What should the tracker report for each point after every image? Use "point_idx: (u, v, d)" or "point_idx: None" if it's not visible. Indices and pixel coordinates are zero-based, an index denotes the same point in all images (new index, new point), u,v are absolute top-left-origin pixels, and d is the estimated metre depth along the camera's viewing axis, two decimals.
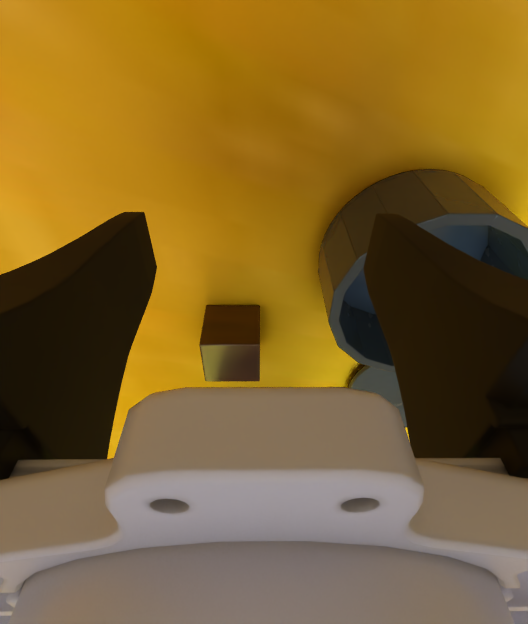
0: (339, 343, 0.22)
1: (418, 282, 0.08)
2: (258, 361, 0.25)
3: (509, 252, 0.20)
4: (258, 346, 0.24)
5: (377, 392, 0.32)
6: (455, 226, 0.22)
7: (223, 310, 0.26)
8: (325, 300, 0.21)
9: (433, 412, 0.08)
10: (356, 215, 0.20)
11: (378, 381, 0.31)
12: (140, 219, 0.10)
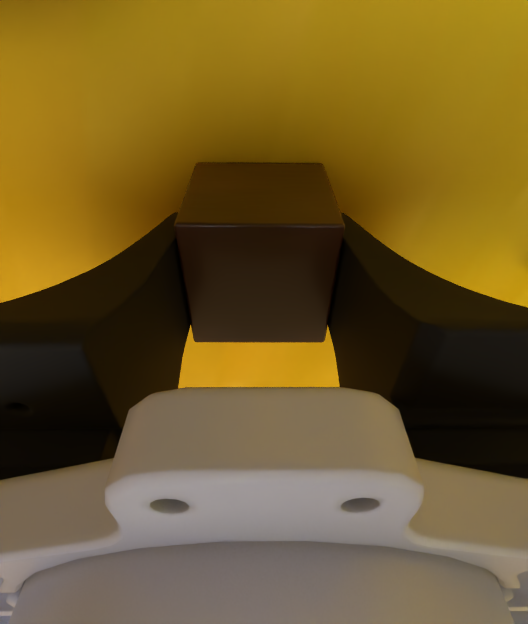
0: None
1: (350, 282, 0.08)
2: (247, 227, 0.08)
3: None
4: (181, 227, 0.08)
5: None
6: None
7: None
8: None
9: None
10: None
11: None
12: None
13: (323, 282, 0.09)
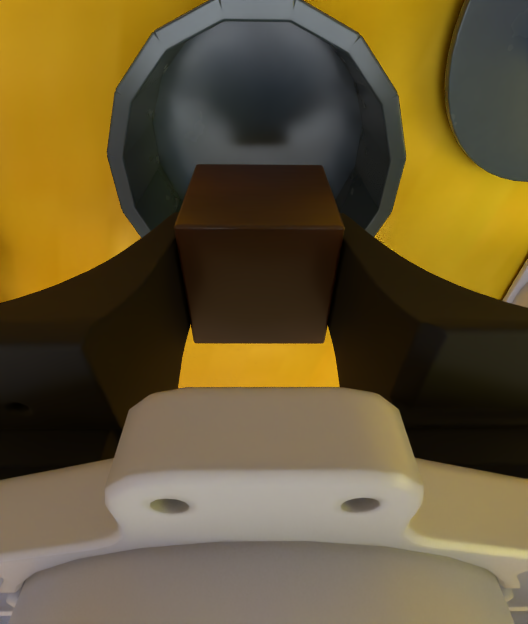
0: None
1: (350, 282, 0.08)
2: (247, 229, 0.08)
3: None
4: (181, 229, 0.08)
5: None
6: (207, 86, 0.16)
7: None
8: None
9: None
10: None
11: (519, 133, 0.17)
12: None
13: (323, 283, 0.09)
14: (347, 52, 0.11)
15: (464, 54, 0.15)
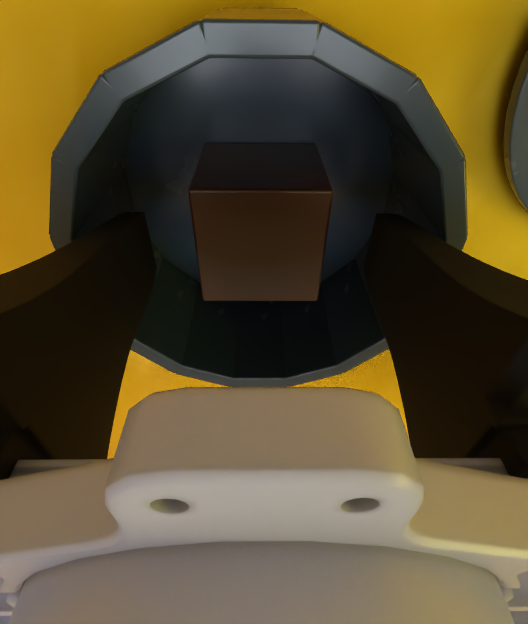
0: (336, 373, 0.13)
1: (417, 282, 0.08)
2: (250, 192, 0.10)
3: None
4: (194, 192, 0.10)
5: None
6: (193, 126, 0.12)
7: None
8: None
9: (433, 412, 0.08)
10: None
11: None
12: (140, 219, 0.10)
13: (315, 243, 0.11)
14: (396, 102, 0.07)
15: None
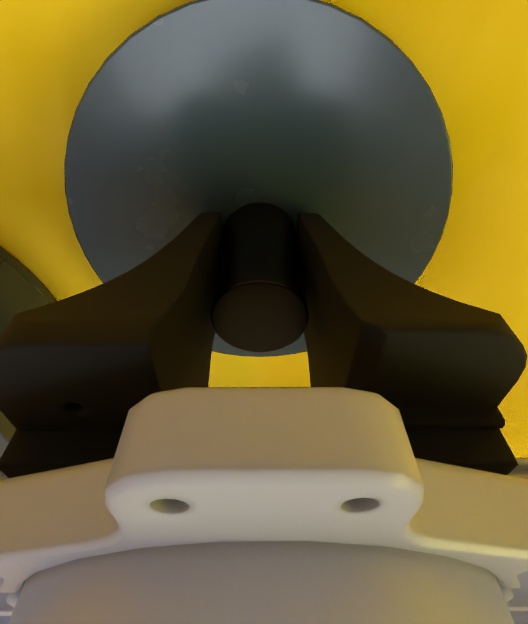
0: None
1: (317, 282, 0.08)
2: None
3: None
4: None
5: None
6: None
7: None
8: None
9: None
10: None
11: None
12: (220, 219, 0.10)
13: None
14: None
15: (98, 253, 0.12)
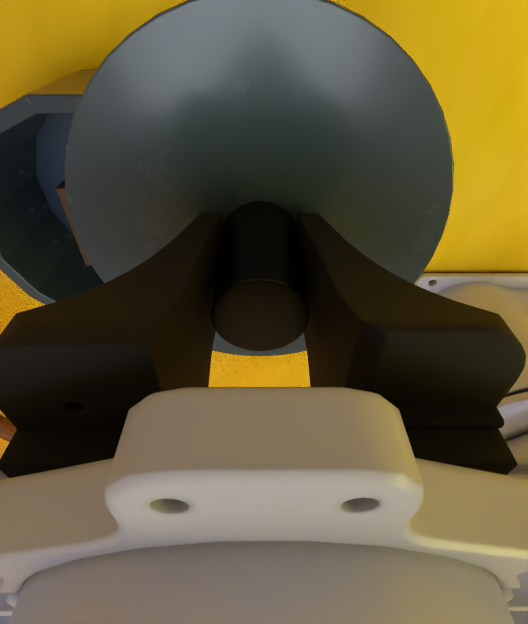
0: None
1: (317, 282, 0.08)
2: None
3: None
4: (59, 189, 0.15)
5: None
6: None
7: None
8: None
9: None
10: None
11: None
12: (220, 219, 0.10)
13: None
14: None
15: (98, 252, 0.12)
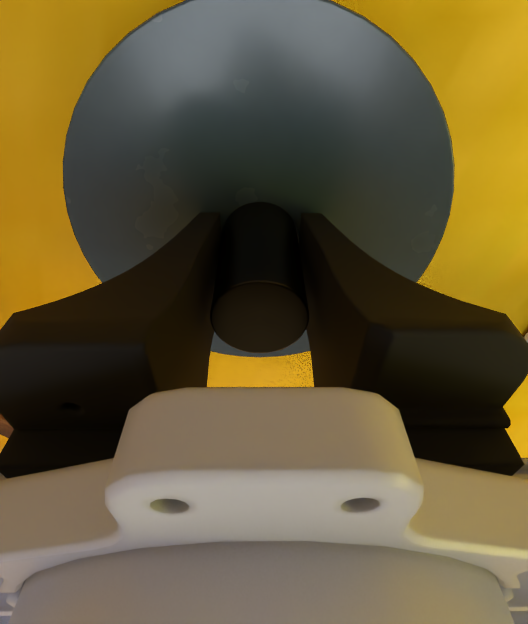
0: None
1: (322, 282, 0.08)
2: None
3: None
4: None
5: None
6: None
7: None
8: None
9: None
10: None
11: None
12: (218, 219, 0.10)
13: None
14: None
15: (96, 253, 0.12)
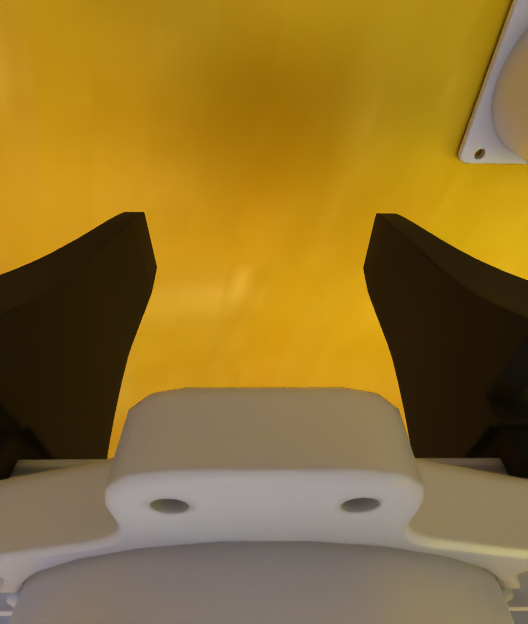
0: None
1: (417, 282, 0.08)
2: None
3: None
4: None
5: None
6: None
7: None
8: None
9: (433, 412, 0.08)
10: None
11: None
12: (140, 219, 0.10)
13: None
14: None
15: None
